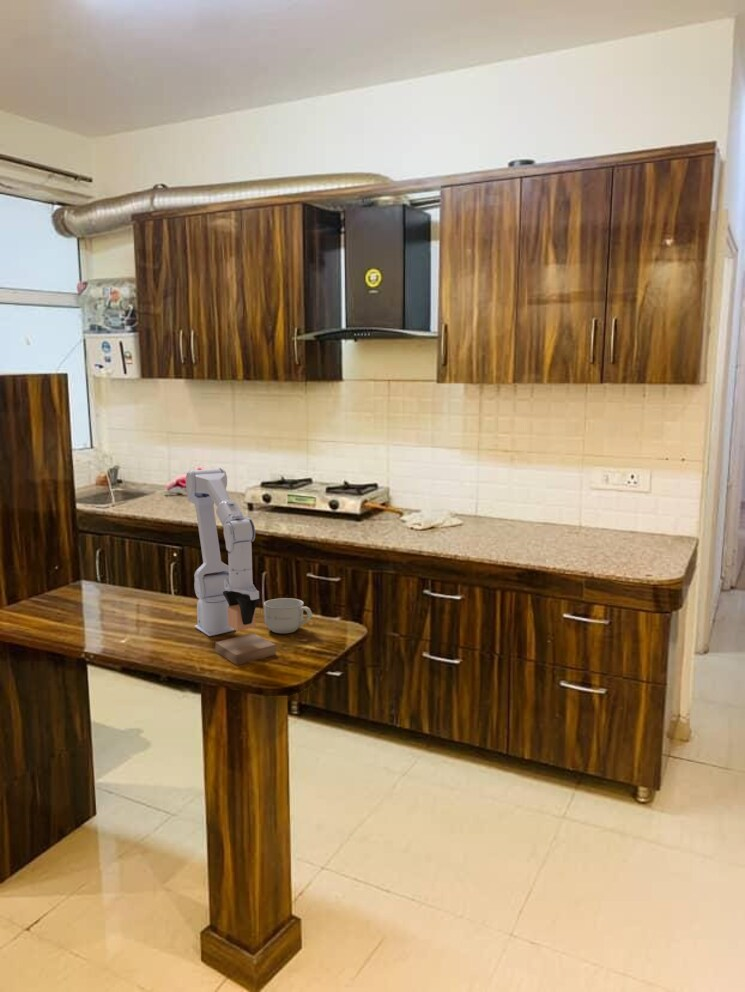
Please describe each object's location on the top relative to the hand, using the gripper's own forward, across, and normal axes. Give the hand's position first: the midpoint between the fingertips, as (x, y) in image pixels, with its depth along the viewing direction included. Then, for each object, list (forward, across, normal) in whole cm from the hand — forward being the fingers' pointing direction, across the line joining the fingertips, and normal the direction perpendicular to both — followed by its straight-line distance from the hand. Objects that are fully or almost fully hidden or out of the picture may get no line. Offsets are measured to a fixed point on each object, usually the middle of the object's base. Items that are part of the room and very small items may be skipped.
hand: (242, 620), depth 188 cm
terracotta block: (+2, 0, 0) cm, 2 cm away
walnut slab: (+9, 0, 0) cm, 9 cm away
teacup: (+9, -7, +17) cm, 21 cm away
